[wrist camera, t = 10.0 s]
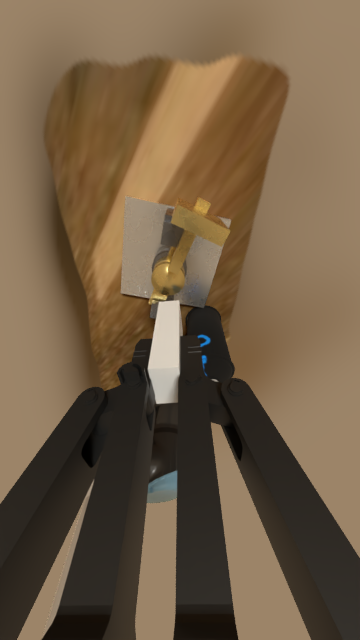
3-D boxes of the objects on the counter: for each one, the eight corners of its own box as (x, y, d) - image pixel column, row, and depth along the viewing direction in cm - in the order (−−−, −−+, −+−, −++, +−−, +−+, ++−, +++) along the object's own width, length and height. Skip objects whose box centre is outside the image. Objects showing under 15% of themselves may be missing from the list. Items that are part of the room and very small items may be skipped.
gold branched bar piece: (140, 295, 39) (128, 332, 30) (182, 186, 29) (182, 192, 20) (170, 307, 40) (168, 345, 31) (220, 206, 30) (236, 220, 22)
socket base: (203, 305, 47) (207, 331, 40) (122, 290, 46) (109, 315, 38) (229, 218, 37) (243, 231, 30) (126, 195, 35) (111, 202, 28)
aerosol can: (227, 314, 49) (251, 385, 32) (208, 338, 53) (220, 413, 37) (196, 299, 47) (205, 368, 30) (179, 326, 51) (178, 399, 34)
